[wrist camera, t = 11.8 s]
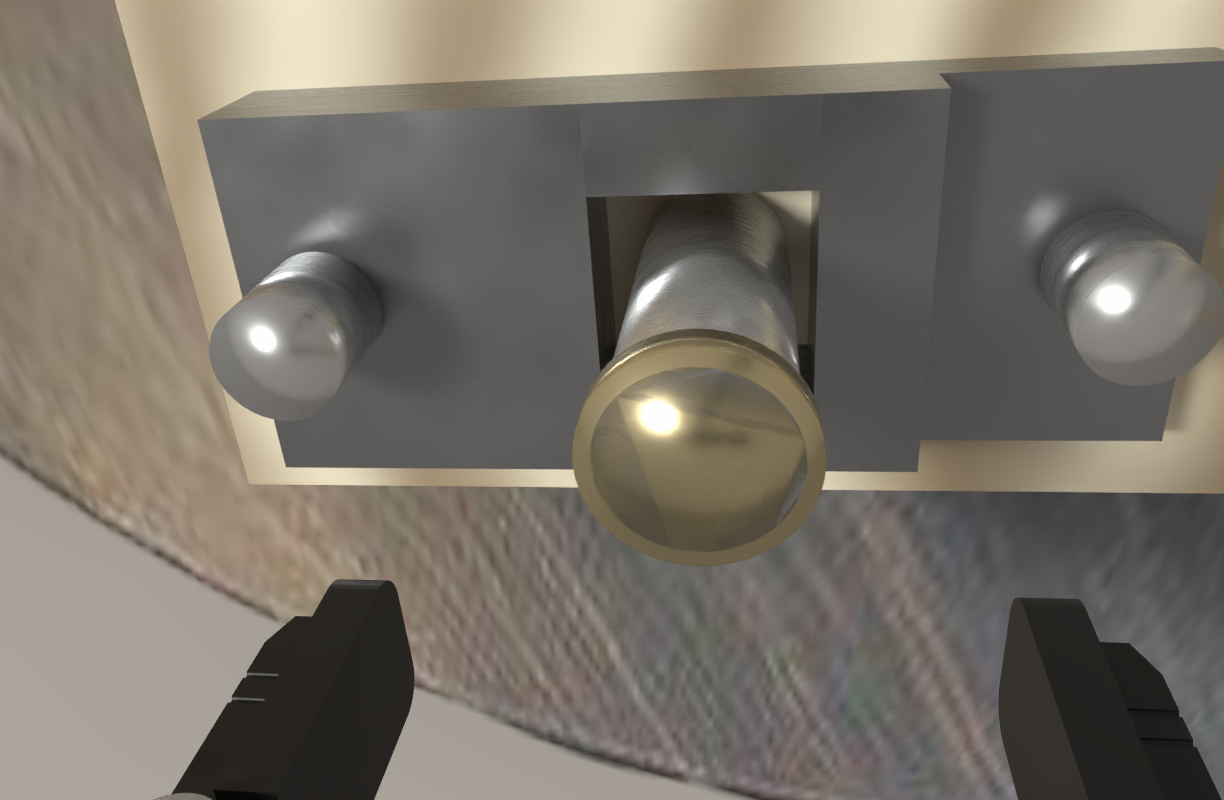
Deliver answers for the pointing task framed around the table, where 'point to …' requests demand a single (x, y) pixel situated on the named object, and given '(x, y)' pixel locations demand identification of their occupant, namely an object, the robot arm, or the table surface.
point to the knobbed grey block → (724, 163)
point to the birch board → (650, 43)
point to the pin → (704, 393)
